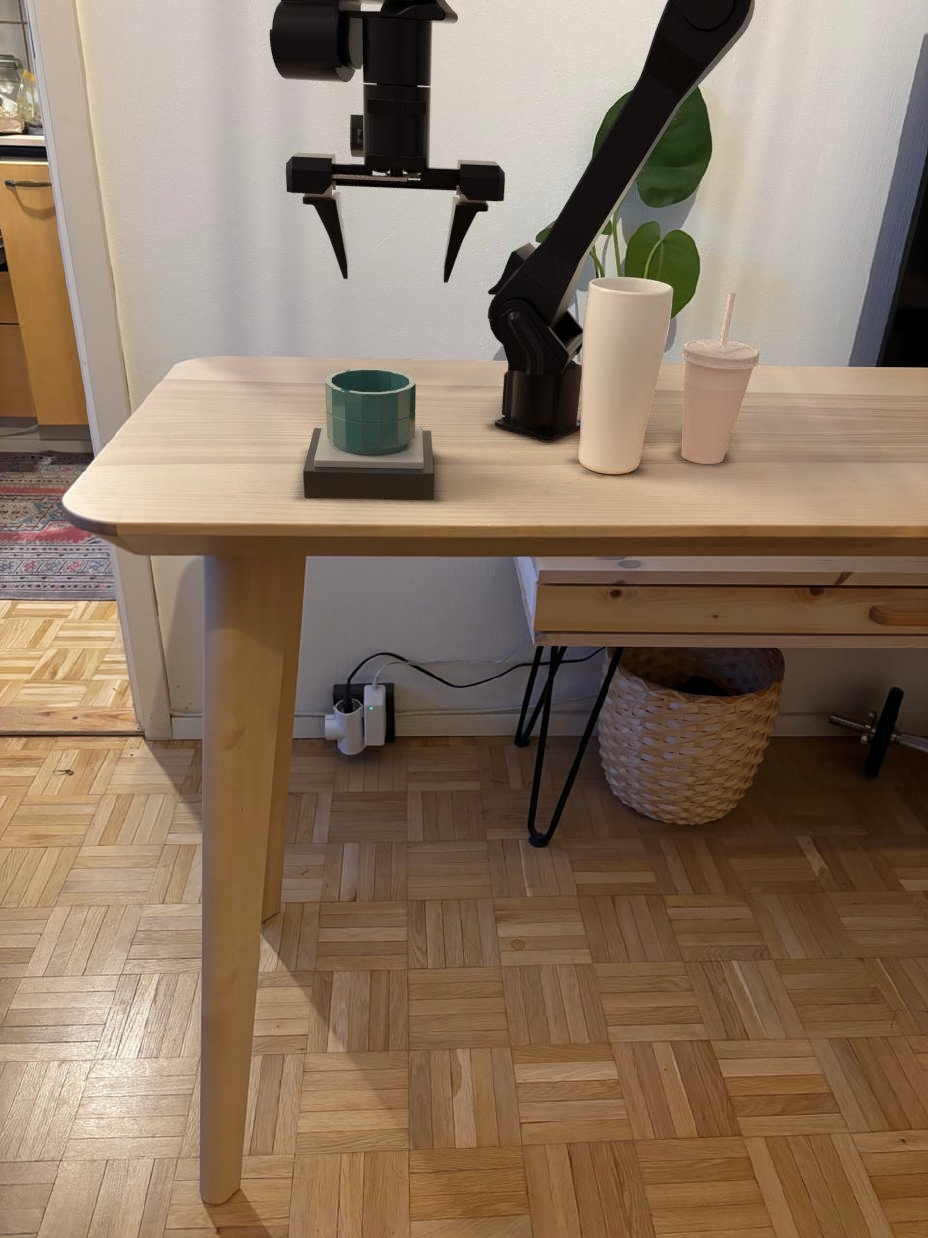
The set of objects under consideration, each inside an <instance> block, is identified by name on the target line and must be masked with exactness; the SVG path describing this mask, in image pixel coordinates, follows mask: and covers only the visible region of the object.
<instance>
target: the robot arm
mask: <svg viewBox="0 0 928 1238" xmlns="http://www.w3.org/2000/svg"><path fill="white" fill-rule="evenodd" d="M362 4H364V5H381V7H380V10H362ZM755 7H756V0H667V1H666V3H665V5H664V7H663V11H662V13H661V15H660V18H659V21H658V24H657V26H656V28H655V31H654V34H653V37H652V40H651V43H650V46H649V48H648V52H647V55H646V58H645V62H644V65H643V68H642V70H641V73H640V76H639V78H638V79H637V81H636V83H635V85H634V86H633V88H632V90H631V92H630V93H629V95H628V97H627V98H626V100H625V101H624V104H623V105H622V107H621V108H620V110H619V112H618V114H617V115H616V117H615V119H614V121H613V122H612V124H611V125H610V128H609V129H608V131H607V133H606V134H605V136H604V138H603V139H602V141H601V143H600V144H599V146H598V148H597V149H596V151H595V153H594V155H593V157H592V158H591V160H590V161H589V163H588V165H587V167H586V168H585V170H584V171H583V173H582V175H581V177H580V178H579V180H578V182H577V184H576V186H575V187H574V189H573V191H572V192H571V194H570V196H569V197H568V199H567V200H566V202H565V204H564V206H563V208H562V209H561V211H560V213H559V214H558V215H557V217H556V220H555V221H554V223H553V224H552V226H551V228H550V229H549V231H548V233H547V235H546V236H545V238H544V239H543V240H542V241H541V242H540V244H538V246H537V247H536V246H534V245H533V244H532V243H531V242H527V243H525V244H523V245H522V246H519V247H518V248H516V249H514V250H512V251H511V252H510V254H509V257H508V259H507V261H506V264H505V265H504V268H503V272H502V274H501V276H500V278H499V280H498V281H497V283H496V284H495V285H493V287H491V288H490V289H488V290H487V294H488V295H490V296H493V298H492V300H491V301H490V304H489V307H488V309H487V319H488V322H489V327H490V331H491V332H492V334H493V336H494V338H495V339H496V340H497V341H498V342H500V344H501V345H502V346H503V351H504V354H505V357H506V361H507V371H505V372H504V373H503V382H502V383H503V385H502V398H501V399H502V400H501V401H502V402H501V415H502V417H500V418H497V419H495V420H494V426H495V427H497V428H500V429H504V430H507V431H511V432H514V433H517V434H520V435H524V436H527V437H530V438H533V439H537V440H541V441H544V442H552V441H554V440H557V439H560V438H562V437H564V436H566V435H568V434H571V433H574V432H576V431H577V430H580V420H581V418H580V419H579V418H578V416H579V407H580V397H581V378H582V364H579V363H577V362H576V361H575V360H574V359H575V357H576V356H578V355H579V354H580V352H581V351H582V338H583V326H582V325H581V324H580V323H579V322H578V320H577V319H576V318H575V317H574V315H573V314H572V313H571V312H570V310H569V309H568V308H569V306H570V304H571V301H572V299H573V296H574V294H575V292H576V289H577V287H578V283H579V281H580V277H581V274H582V271H583V268H584V265H585V262H586V260H587V258H588V256H589V254H590V252H591V250H592V249H593V247H594V246H595V244H596V243H597V241H598V239H599V238H600V236H601V235H602V233H603V231H604V230H605V228H606V227H607V225H608V223H609V222H610V220H611V218H613V216H614V214H615V211H616V210H617V209H618V207H619V205H620V204H621V203H622V201H623V199H624V197H625V196H626V194H627V192H628V191H629V190H630V188H631V186H632V185H633V183H634V181H635V180H636V178H637V177H638V175H639V173H640V172H641V170H642V169H643V167H644V165H645V164H646V162H647V161H648V159H649V157H650V156H651V154H652V153H653V151H654V149H655V147H656V146H657V145H658V143H659V141H660V140H661V138H662V136H663V135H664V133H665V132H666V130H667V128H668V126H669V125H670V123H671V122H672V120H673V119H674V117H675V116H676V114H677V112H678V111H679V109H680V108H681V106H682V105H683V103H684V102H685V101H686V100H687V98H688V97H689V96H690V95H691V94H692V93H693V92H694V91H695V90H696V89H697V88H698V87H699V86H700V84H701V83H702V82H703V81H704V80H705V79H706V78H707V77H708V76H709V75H710V74H711V73H712V71H713V70H714V69H715V68H716V67H717V66H718V64H719V63H720V62H721V61H722V60H723V59H724V57H725V56H726V55H727V54H728V53H729V52H730V50H732V48H733V47H734V46H735V44H736V43H737V42H739V40H740V39H741V38H742V37H743V35H744V34H745V32H746V31H747V30H748V28H749V26H750V24H751V22H752V19H753V17H754V13H755V9H756V8H755ZM458 20H459V16H458V13H457V12H456V11H455V10H454V9H453V8H452V7H451V6H450V5H449V3H447V1H446V0H280V1H279V3H278V4H277V5H276V7H275V10H274V13H273V17H272V24H271V28H270V29H269V46H270V53H271V57H272V61H273V64H274V67H275V68H276V71H277V73H278V74H279V75H280V76H281V77H282V78H283V79H285V80H293V81H294V80H295V81H313V82H328V83H329V82H330V83H331V82H333V83H334V82H335V83H349V82H350V81H351V80H352V79H353V77H354V75H355V73H356V70H362V108H363V109H362V113H363V114H350V117H349V150H350V155H351V157H352V158H363V163H362V164H361V163H343V162H342V163H340V162H337V159H336V154H335V153H314V152H296V153H294V154H293V155H292V156H291V157H290V158H289V159H288V160H287V162H286V163H285V185H286V186H285V187H286V193H289V194H290V193H291V194H303V196H302V199H301V200H302V204H303V205H307V206H313V207H314V209H315V211H316V213H317V215H318V217H319V219H320V221H321V223H322V225H323V228H324V229H325V232H326V233H327V235H328V238H329V241H330V245H331V247H332V250H333V252H334V255H335V258H336V261H337V264H338V267H339V270H340V273H341V275H342V278H343V280H348V279H349V256H348V255H349V254H348V249H347V248H348V247H347V241H346V240H347V239H346V234H345V226H344V218H343V209H342V199H341V192H340V191H337V189H338V187H358V188H379V189H380V188H381V189H407V190H408V189H409V190H429V191H430V190H431V191H449V192H450V191H451V192H453V191H454V193H455V195H456V196H452V199H451V200H452V202H451V208H450V209H451V210H450V219H449V226H448V233H447V239H446V246H445V251H444V257H443V273H442V275H443V278H442V279H443V280H442V281H443V283H444V284H448V283H449V280H450V278H451V275H452V272H453V269H454V267H455V263H456V261H457V258H458V255H459V253H460V250H461V247H462V244H463V242H464V239H465V237H466V235H467V233H468V232H469V229H470V227H471V225H472V223H473V222H474V220H475V218H476V215H477V214H478V213H486V212H489V203H488V202H504V201H505V187H506V172H505V171H504V169H503V168H502V167H501V166H500V165H499V164H498V163H497V162H496V160H475V159H474V160H473V159H457V164H456V165H457V167H455V168H454V167H432V166H431V167H430V157H431V156H430V152H431V110H432V109H431V108H432V107H431V106H432V104H431V103H432V102H431V101H432V60H433V59H432V58H433V57H432V55H433V54H432V53H433V24H452V25H454V24H456V23H457V22H458ZM374 173H376V174H377V173H378V174H377V175H376V174H374ZM381 174H384V175H381Z"/></svg>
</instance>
